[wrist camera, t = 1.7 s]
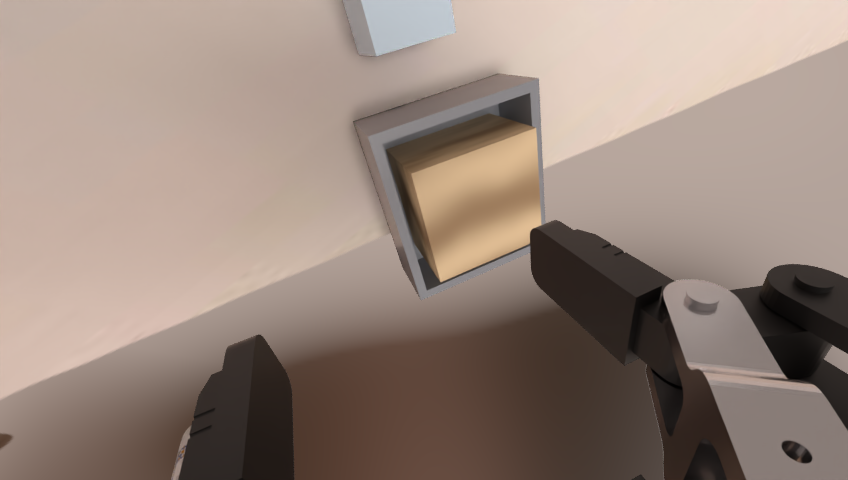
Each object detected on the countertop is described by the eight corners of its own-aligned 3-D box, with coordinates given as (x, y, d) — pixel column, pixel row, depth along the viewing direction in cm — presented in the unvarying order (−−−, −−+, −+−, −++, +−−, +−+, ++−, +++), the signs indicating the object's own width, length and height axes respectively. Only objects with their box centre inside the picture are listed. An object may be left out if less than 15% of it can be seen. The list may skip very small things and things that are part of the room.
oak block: (385, 149, 30) (411, 173, 24) (489, 113, 31) (536, 127, 26) (414, 243, 35) (440, 282, 29) (501, 208, 37) (542, 238, 31)
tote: (353, 121, 28) (367, 136, 24) (498, 73, 31) (538, 78, 26) (402, 267, 37) (420, 300, 32) (513, 221, 39) (546, 245, 34)
